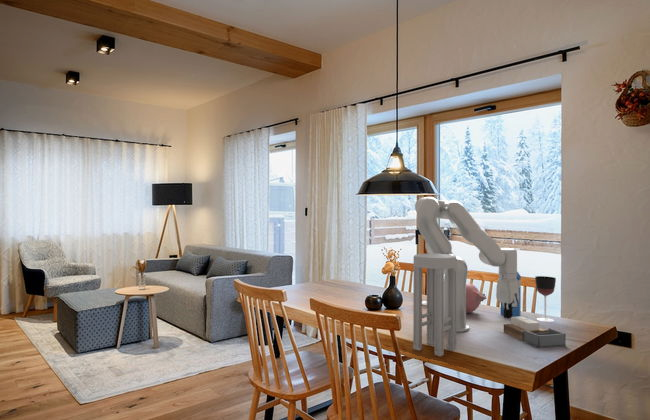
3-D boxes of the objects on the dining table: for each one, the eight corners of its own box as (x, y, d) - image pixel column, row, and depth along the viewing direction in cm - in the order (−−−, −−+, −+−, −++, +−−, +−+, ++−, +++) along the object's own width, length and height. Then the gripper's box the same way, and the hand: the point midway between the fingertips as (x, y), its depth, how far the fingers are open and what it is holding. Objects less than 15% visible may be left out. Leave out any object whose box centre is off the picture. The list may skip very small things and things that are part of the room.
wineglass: (554, 322, 201) (555, 279, 200) (534, 320, 205) (534, 277, 205) (556, 319, 207) (556, 277, 207) (536, 316, 212) (536, 275, 212)
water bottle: (522, 317, 210) (523, 265, 210) (502, 316, 212) (502, 265, 212) (518, 313, 219) (518, 263, 219) (498, 312, 221) (498, 263, 221)
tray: (538, 347, 164) (538, 335, 164) (523, 341, 172) (523, 329, 172) (565, 345, 167) (565, 333, 167) (549, 339, 175) (549, 328, 175)
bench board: (522, 340, 173) (522, 332, 173) (503, 332, 184) (503, 324, 184) (548, 338, 176) (548, 330, 176) (527, 330, 187) (528, 322, 187)
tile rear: (518, 327, 180) (518, 319, 180) (511, 323, 185) (511, 316, 185) (529, 326, 181) (529, 319, 181) (521, 323, 186) (521, 316, 186)
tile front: (528, 330, 175) (528, 323, 175) (520, 327, 179) (520, 320, 179) (539, 330, 176) (539, 322, 176) (530, 326, 181) (530, 319, 181)
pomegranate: (475, 319, 205) (475, 287, 205) (442, 311, 222) (442, 281, 222) (495, 315, 214) (495, 284, 214) (462, 307, 231) (462, 278, 231)
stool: (405, 349, 162) (405, 255, 162) (428, 340, 173) (428, 252, 173) (442, 359, 151) (442, 258, 151) (464, 349, 162) (464, 255, 162)
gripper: (490, 274, 198) (490, 314, 198) (511, 279, 183) (511, 322, 183) (504, 273, 199) (504, 313, 199) (526, 278, 185) (527, 321, 185)
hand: (508, 317), depth 191 cm, fingers closed
